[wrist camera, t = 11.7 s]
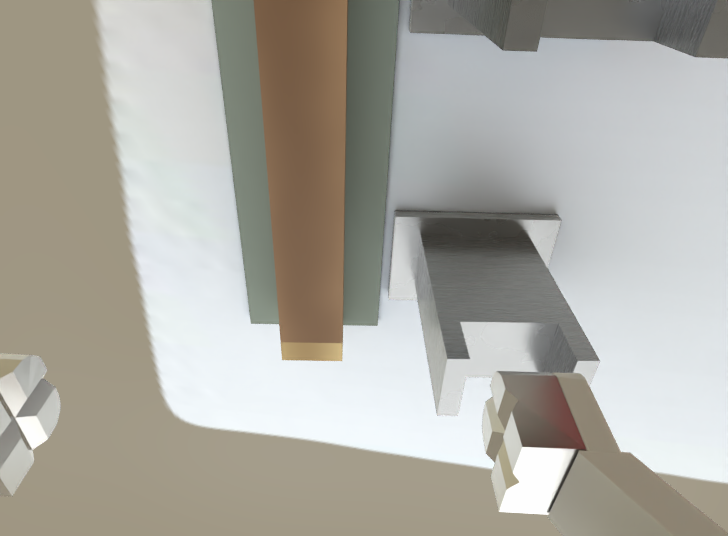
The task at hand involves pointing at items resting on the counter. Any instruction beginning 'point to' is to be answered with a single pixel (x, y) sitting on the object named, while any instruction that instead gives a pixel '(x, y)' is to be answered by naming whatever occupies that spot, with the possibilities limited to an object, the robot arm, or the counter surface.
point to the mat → (363, 151)
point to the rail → (306, 166)
